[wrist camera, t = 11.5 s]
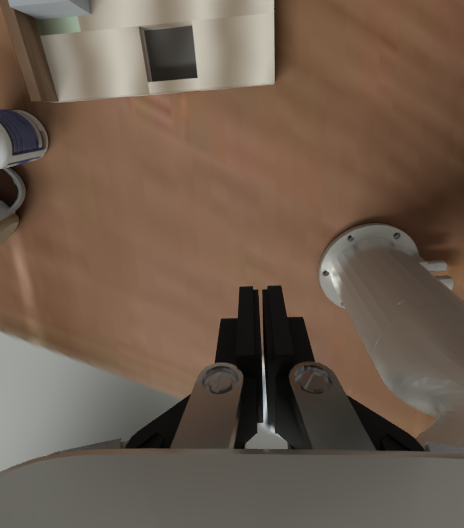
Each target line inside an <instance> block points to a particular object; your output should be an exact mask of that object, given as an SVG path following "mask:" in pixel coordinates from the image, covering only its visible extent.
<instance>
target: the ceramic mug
mask: <svg viewBox="0 0 464 528" xmlns="http://www.w3.org/2000/svg"><path fill="white" fill-rule="evenodd" d="M3 170H4V171H5V172H7V173H8V174H9V175H10V176H11V177H12V178H13V181H14V184H16V185H17V188H18V190H19V193H18V198H17V199H16V201H15V203H14V204H13V205H12V206H11V208H10V207H9V206H8V205H6V204H5V203H4V202H3V201H1V200H0V245H1V244H2V243H3V242H4V241H5V240H6V239H8V237H9V236H10V235H11V234H12V233H13V232H14V231H15V229H16V228H17V226H18V224H19V218H18V216H17V215H16V213H15V211H16V210H17V209H18V208H19V207H20V206H21V204H22V203H23V201H24V199H25V195H26V188H25V185H24V182H23V180H22V179H21V177H20V176H19V175H18V174H17V173H16V172H15V171H14V170H12V169H11V168H9V167H7V168H3Z"/></svg>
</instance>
